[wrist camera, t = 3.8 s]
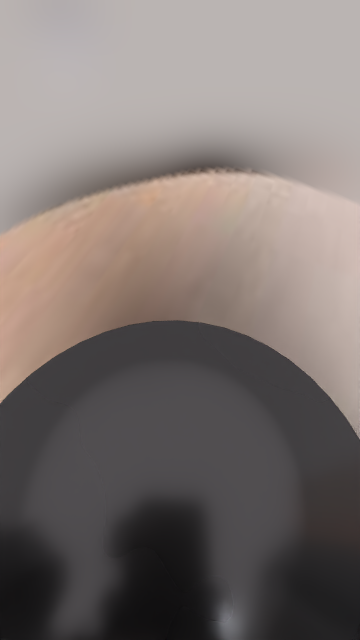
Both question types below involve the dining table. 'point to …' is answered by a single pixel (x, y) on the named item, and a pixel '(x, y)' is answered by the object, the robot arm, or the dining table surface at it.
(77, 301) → the dining table surface
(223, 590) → the steel vacuum flask
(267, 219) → the dining table surface
